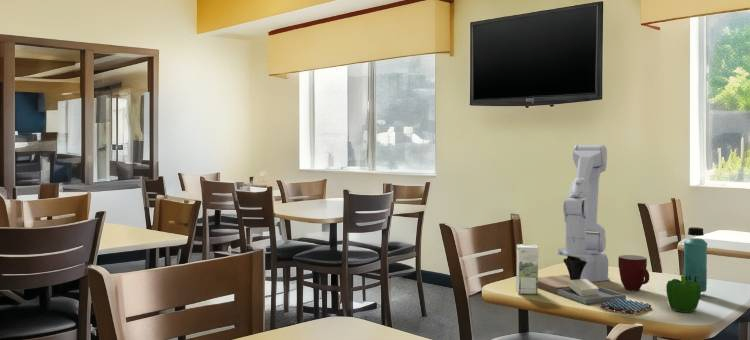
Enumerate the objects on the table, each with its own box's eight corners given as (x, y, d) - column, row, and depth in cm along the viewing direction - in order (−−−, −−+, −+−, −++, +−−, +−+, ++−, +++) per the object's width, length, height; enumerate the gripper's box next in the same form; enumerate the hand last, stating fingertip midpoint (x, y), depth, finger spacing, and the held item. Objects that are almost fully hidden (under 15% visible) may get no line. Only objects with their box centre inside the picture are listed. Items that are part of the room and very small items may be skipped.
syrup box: (535, 290, 202) (535, 243, 201) (538, 295, 196) (538, 246, 195) (516, 290, 202) (516, 243, 202) (518, 294, 197) (518, 246, 196)
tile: (584, 284, 201) (586, 278, 200) (597, 294, 195) (598, 288, 195) (568, 286, 198) (569, 280, 198) (580, 296, 193) (582, 290, 193)
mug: (659, 292, 199) (659, 259, 198) (640, 295, 195) (641, 261, 194) (630, 285, 208) (630, 254, 207) (612, 288, 204) (612, 256, 203)
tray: (595, 290, 202) (595, 285, 202) (625, 300, 190) (626, 294, 189) (557, 294, 197) (557, 289, 197) (585, 304, 185) (585, 299, 185)
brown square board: (566, 280, 215) (566, 274, 215) (595, 290, 202) (595, 283, 202) (529, 284, 210) (529, 278, 210) (556, 294, 197) (556, 287, 197)
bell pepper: (674, 304, 184) (674, 269, 183) (704, 310, 178) (705, 273, 177) (660, 310, 178) (660, 273, 178) (691, 316, 172) (691, 278, 172)
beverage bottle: (705, 293, 197) (706, 226, 196) (708, 298, 191) (709, 229, 190) (681, 291, 199) (682, 225, 198) (683, 296, 193) (685, 228, 192)
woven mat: (597, 310, 180) (597, 303, 180) (617, 304, 187) (617, 296, 187) (634, 318, 172) (634, 310, 172) (653, 311, 179) (653, 303, 179)
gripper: (549, 234, 205) (549, 278, 205) (580, 241, 191) (579, 288, 192) (568, 233, 207) (568, 276, 208) (599, 240, 193) (599, 286, 194)
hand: (575, 282), depth 200 cm, fingers closed
